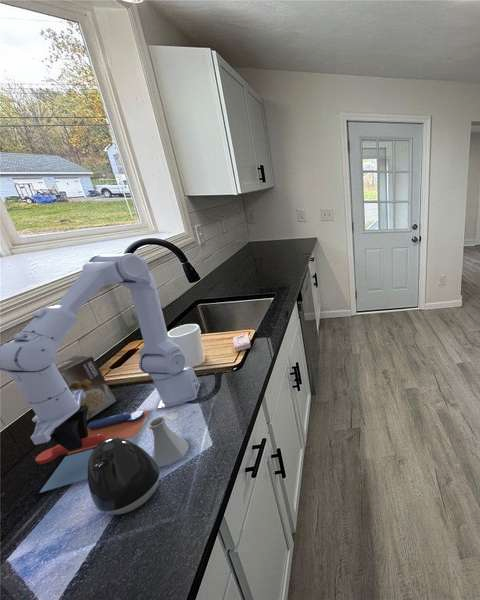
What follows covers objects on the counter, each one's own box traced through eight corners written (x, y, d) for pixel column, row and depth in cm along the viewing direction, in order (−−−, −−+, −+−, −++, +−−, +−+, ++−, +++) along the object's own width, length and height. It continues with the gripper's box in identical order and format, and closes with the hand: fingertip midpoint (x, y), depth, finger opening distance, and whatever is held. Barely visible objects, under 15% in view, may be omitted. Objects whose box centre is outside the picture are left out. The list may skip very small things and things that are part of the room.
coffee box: (100, 399, 94) (76, 354, 88) (117, 401, 93) (94, 355, 87) (65, 422, 86) (35, 373, 80) (83, 424, 85) (54, 375, 79)
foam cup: (199, 369, 106) (187, 336, 101) (173, 371, 107) (159, 337, 102) (215, 354, 115) (204, 323, 110) (190, 355, 115) (179, 324, 110)
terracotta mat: (149, 411, 88) (149, 410, 88) (137, 436, 80) (136, 435, 79) (88, 427, 84) (87, 426, 84) (67, 456, 75) (66, 454, 75)
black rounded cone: (93, 535, 57) (53, 476, 52) (114, 487, 66) (82, 433, 61) (158, 510, 61) (128, 453, 55) (170, 468, 70) (145, 415, 64)
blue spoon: (86, 434, 81) (83, 428, 80) (93, 425, 84) (89, 418, 83) (141, 420, 85) (138, 413, 84) (146, 411, 88) (143, 405, 87)
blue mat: (136, 438, 79) (135, 436, 79) (120, 469, 70) (119, 468, 70) (66, 457, 75) (65, 456, 74) (39, 494, 66) (38, 492, 66)
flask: (149, 473, 69) (132, 439, 65) (156, 449, 75) (140, 417, 71) (187, 459, 72) (173, 425, 68) (190, 437, 78) (177, 406, 74)
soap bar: (235, 352, 115) (233, 346, 114) (234, 342, 123) (232, 336, 122) (251, 348, 117) (249, 342, 117) (249, 338, 125) (247, 332, 124)
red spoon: (110, 435, 72) (106, 428, 71) (103, 446, 69) (99, 439, 68) (43, 453, 68) (38, 445, 67) (33, 466, 65) (27, 459, 64)
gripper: (44, 379, 68) (73, 426, 73) (-6, 424, 56) (34, 478, 61) (85, 370, 70) (110, 417, 76) (45, 412, 58) (79, 465, 63)
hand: (79, 443), depth 68 cm, fingers closed on red spoon, 2 cm apart
